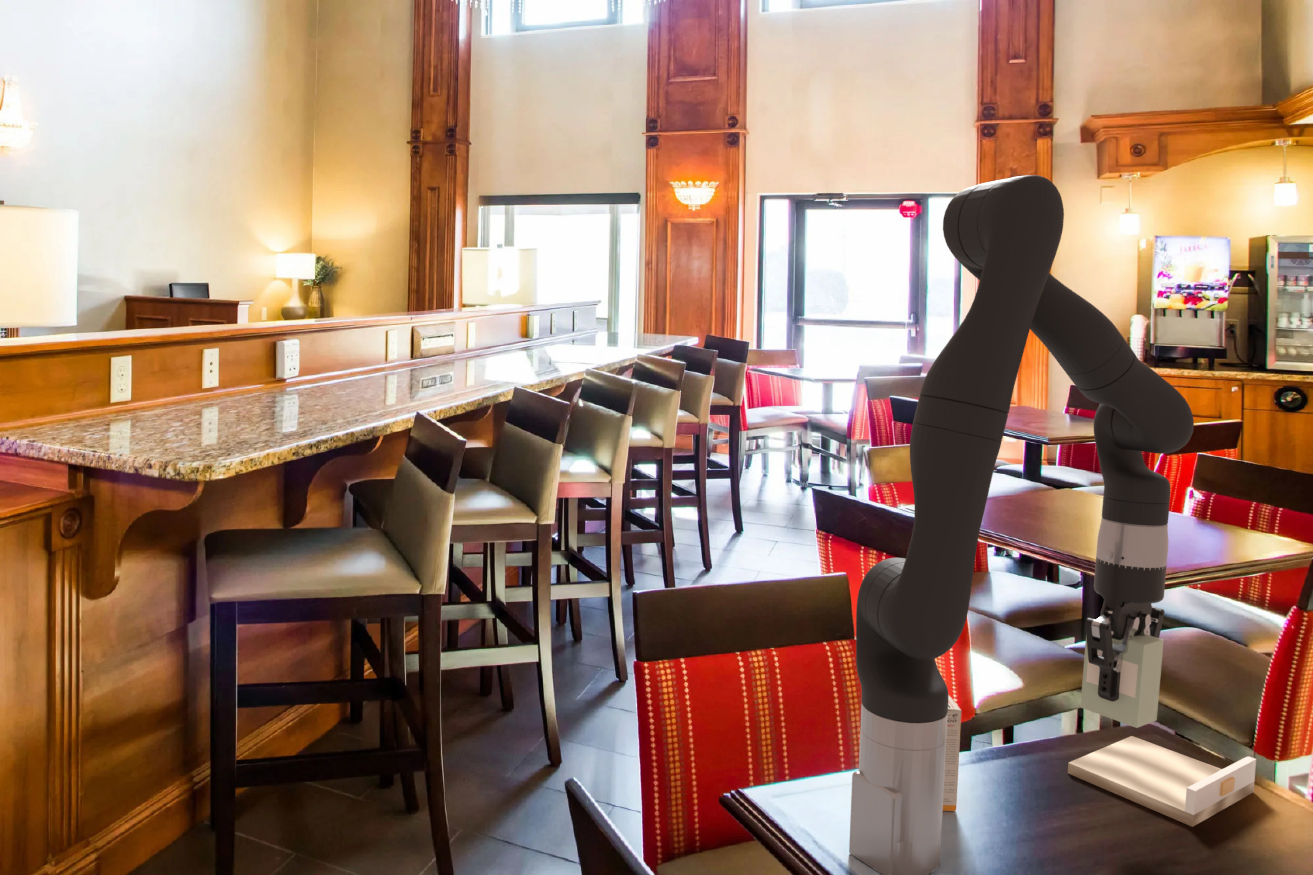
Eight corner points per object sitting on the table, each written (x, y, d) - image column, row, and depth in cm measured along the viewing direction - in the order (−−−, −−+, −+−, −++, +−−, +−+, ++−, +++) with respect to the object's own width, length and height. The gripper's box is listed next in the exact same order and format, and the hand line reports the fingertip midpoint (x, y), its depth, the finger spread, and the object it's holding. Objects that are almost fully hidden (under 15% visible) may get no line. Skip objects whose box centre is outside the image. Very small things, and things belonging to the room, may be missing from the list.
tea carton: (1136, 728, 104) (1143, 645, 103) (1080, 707, 110) (1086, 628, 109) (1156, 720, 107) (1164, 639, 106) (1100, 700, 113) (1106, 623, 112)
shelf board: (1195, 827, 106) (1198, 792, 106) (1067, 773, 120) (1069, 741, 119) (1256, 793, 115) (1258, 759, 115) (1131, 745, 129) (1133, 715, 128)
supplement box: (958, 812, 109) (963, 710, 108) (919, 811, 109) (924, 708, 108) (938, 780, 117) (943, 684, 116) (901, 779, 117) (906, 683, 116)
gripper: (1130, 571, 100) (1118, 717, 101) (1193, 558, 108) (1180, 694, 109) (1067, 557, 106) (1057, 695, 107) (1131, 546, 114) (1120, 675, 115)
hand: (1119, 694), depth 108 cm, fingers closed on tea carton, 4 cm apart
